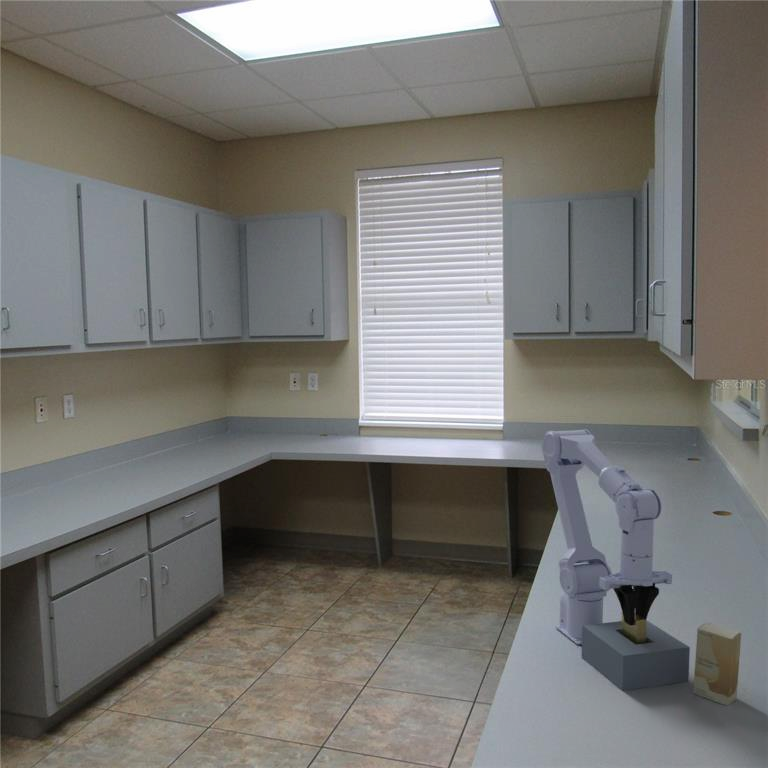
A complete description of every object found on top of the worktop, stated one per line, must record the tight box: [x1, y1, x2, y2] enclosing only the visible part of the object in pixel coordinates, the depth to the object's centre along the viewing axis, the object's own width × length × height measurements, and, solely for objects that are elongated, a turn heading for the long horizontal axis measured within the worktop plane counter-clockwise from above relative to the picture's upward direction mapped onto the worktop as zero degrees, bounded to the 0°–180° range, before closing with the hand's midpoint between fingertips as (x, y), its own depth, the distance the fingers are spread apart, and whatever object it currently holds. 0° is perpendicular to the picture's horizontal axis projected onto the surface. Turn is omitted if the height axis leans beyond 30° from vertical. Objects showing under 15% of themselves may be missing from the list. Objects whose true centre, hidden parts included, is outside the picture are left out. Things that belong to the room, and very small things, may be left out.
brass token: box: [621, 611, 647, 645], centre depth 141 cm, size 5×2×5 cm, turn 15°
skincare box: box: [692, 622, 742, 707], centre depth 130 cm, size 6×4×12 cm
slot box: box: [581, 619, 691, 691], centre depth 141 cm, size 14×14×6 cm
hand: (634, 622), depth 141 cm, fingers closed on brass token, 2 cm apart
